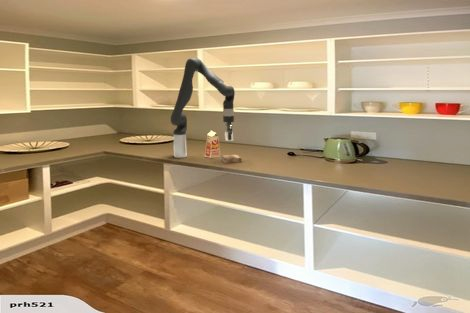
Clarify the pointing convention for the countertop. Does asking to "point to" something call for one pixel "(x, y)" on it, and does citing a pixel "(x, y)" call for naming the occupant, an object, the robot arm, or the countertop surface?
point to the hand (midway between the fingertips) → (229, 139)
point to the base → (230, 158)
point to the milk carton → (212, 145)
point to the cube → (227, 136)
